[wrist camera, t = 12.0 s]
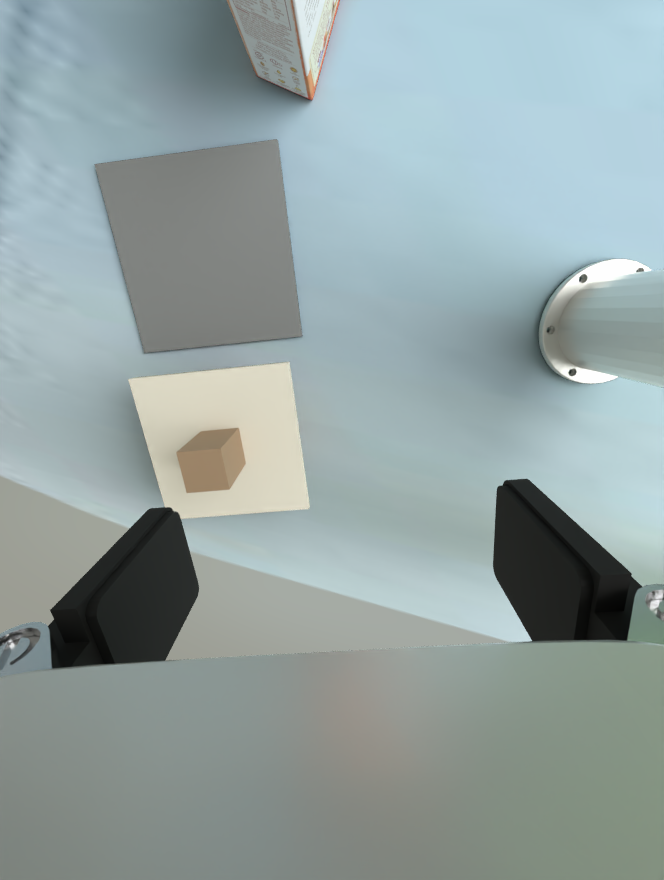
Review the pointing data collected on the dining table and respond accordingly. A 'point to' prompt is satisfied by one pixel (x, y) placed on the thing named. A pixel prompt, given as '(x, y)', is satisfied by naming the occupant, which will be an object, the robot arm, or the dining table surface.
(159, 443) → the lid
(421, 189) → the dining table surface
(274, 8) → the cracker box
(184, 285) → the mat
